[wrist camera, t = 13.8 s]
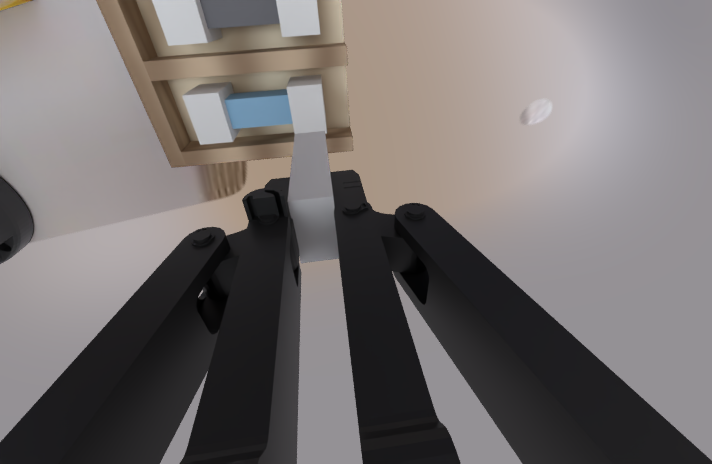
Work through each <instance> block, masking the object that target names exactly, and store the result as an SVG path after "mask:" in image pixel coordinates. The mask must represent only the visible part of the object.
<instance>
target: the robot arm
mask: <svg viewBox="0 0 712 464" xmlns="http://www.w3.org/2000/svg"><path fill="white" fill-rule="evenodd" d="M242 201H243V204H244V207H245V211H246V213H247V217H248V220H249V223H248V227H247V229H245V230H242V231H240V232H237V233H234V234H230V235H227V236H226V235H225V232H224V230H222V229H221V228H217V227H207V228H202V229H198V230H196V231H195V232H193V233H191V234H189V235H188V236H187V237H185V238H184V239H183V240H182V241H181V243H180V244H179V245H178V246H177V247H176V248H175V249H174V250H173V251H172V253H171V254H170V255H169V256H168V257H167V258H166V259H165V260H164V261H163V262H162V264H161V265H160V266H159V267H158V268H157V269H156V270H155V271H154V273H153V274H152V275H151V276H150V277H149V278H148V279H147V280H146V281H145V282H144V284H143V285H142V286H141V287H140V288H139V289H138V290H137V291H136V292H135V293H134V295H133V296H132V297H131V298H130V299H129V300H128V301H127V302H126V304H125V305H124V306H123V307H122V308H121V309H120V310H119V311H118V312H117V314H116V315H115V316H114V317H113V318H112V319H111V320H110V321H109V322H108V323H107V325H106V326H105V327H104V328H103V329H102V330H101V331H100V332H99V333H98V334H97V336H96V337H95V338H94V339H93V340H92V341H91V342H90V343H89V344H88V346H87V347H86V348H85V349H84V350H83V351H82V352H81V353H80V354H79V356H78V357H77V358H76V359H75V360H74V361H73V362H72V364H70V366H69V367H68V368H67V369H66V370H65V371H64V372H63V373H62V374H61V376H60V377H59V378H58V379H57V380H56V381H55V382H54V383H53V384H52V386H51V387H50V388H49V389H48V390H47V391H46V392H45V393H44V394H43V396H42V397H41V398H40V399H39V400H38V401H37V402H36V403H35V404H34V405H33V407H32V408H31V409H30V410H29V411H28V412H27V413H26V414H25V416H24V417H23V418H22V419H21V420H20V421H19V422H18V423H17V424H16V426H15V427H14V428H13V429H12V430H11V431H10V432H9V433H8V434H7V435H6V437H5V438H4V439H3V440H2V441H1V442H0V464H160V462H161V460H162V458H163V456H164V454H165V452H166V450H167V448H168V447H169V444H170V442H171V441H172V439H173V437H174V435H175V433H176V431H177V429H178V427H179V425H180V423H181V421H182V419H183V418H184V415H185V414H186V412H187V410H188V408H189V406H190V404H191V402H192V400H193V398H194V396H195V394H196V392H197V390H198V389H199V387H200V385H201V383H202V381H203V379H204V377H205V375H206V373H207V371H208V373H207V377H206V381H205V384H204V388H203V392H202V395H201V399H200V403H199V406H198V410H197V414H196V417H195V421H194V425H193V428H192V432H191V436H190V439H189V443H188V447H187V450H186V453H185V455H184V458H183V459H182V461H181V462H180V464H297V422H298V383H299V342H300V300H301V270H300V265H299V256H300V261H301V263H306V262H314V261H323V260H331V259H339V261H340V270H341V278H342V287H343V296H344V304H345V313H346V321H347V330H348V338H349V347H350V356H351V365H352V373H353V382H354V391H355V398H356V408H357V416H358V425H359V434H360V443H361V451H362V460H363V464H460V460H459V458H458V455H457V452H456V449H455V446H454V444H453V441H452V438H451V436H450V434H449V432H448V430H447V428H446V427H445V426H444V425H443V424H442V423H441V422H440V421H439V420H438V418H437V416H436V413H435V410H434V407H433V404H432V400H431V397H430V394H429V391H428V388H427V384H426V381H425V378H424V375H423V372H422V368H421V365H420V362H419V359H418V355H417V352H416V349H415V345H414V342H413V339H412V336H411V332H410V329H409V326H408V323H407V319H406V316H405V313H404V310H403V306H402V303H401V300H400V297H399V294H398V290H397V287H396V284H395V280H394V278H393V274H392V271H393V273H394V275H395V277H396V279H397V280H398V282H399V283H400V285H401V286H402V287H403V289H404V291H405V292H406V294H407V295H408V296H409V298H410V299H411V301H412V302H413V304H414V305H415V307H416V308H417V310H418V311H419V313H420V314H421V315H422V317H423V318H424V320H425V321H426V323H427V324H428V326H429V327H430V328H431V330H432V332H433V333H434V334H435V336H436V337H437V339H438V340H439V342H440V343H441V345H442V346H443V348H444V349H445V350H446V352H447V354H448V355H449V356H450V358H451V359H452V361H453V362H454V364H455V365H456V367H457V368H458V369H459V371H460V373H461V374H462V375H463V377H464V378H465V380H466V381H467V383H468V384H469V386H470V387H471V389H472V390H473V392H474V393H475V394H476V396H477V397H478V399H479V400H480V402H481V403H482V405H483V406H484V408H485V409H486V410H487V412H488V414H489V415H490V416H491V418H492V419H493V421H494V422H495V424H496V425H497V427H498V428H499V430H500V431H501V433H502V434H503V435H504V437H505V438H506V440H507V441H508V443H509V444H510V446H511V447H512V449H513V450H514V452H515V453H516V454H517V456H518V457H519V459H520V460H521V462H522V463H523V464H712V461H711V460H710V459H709V458H708V457H707V456H706V455H705V454H704V453H702V452H701V451H700V450H699V449H698V448H697V447H696V446H695V445H694V444H692V443H691V442H690V441H689V440H688V439H687V438H686V437H685V436H683V435H682V434H681V433H680V432H679V431H678V430H677V429H676V428H675V427H674V426H672V425H671V424H670V423H669V422H668V421H667V420H666V419H665V418H664V417H663V416H661V415H660V414H659V413H658V412H657V411H656V410H655V409H654V408H653V407H651V406H650V405H649V404H648V403H647V402H646V401H645V400H644V399H643V398H641V397H640V396H639V395H638V394H637V393H636V392H635V391H634V390H633V389H631V388H630V387H629V386H628V385H627V384H626V383H625V382H624V381H623V380H621V379H620V378H619V377H618V376H617V375H616V374H615V373H614V372H613V371H611V370H610V369H609V368H608V367H607V366H606V365H605V364H604V363H603V362H602V361H600V360H599V359H598V358H597V357H596V356H595V355H594V354H593V353H592V352H590V351H589V350H588V349H587V348H586V347H585V346H584V345H582V343H581V342H579V341H578V340H577V339H576V338H575V337H574V336H573V335H572V334H571V333H569V332H568V331H567V330H566V329H565V328H564V327H563V326H562V325H560V324H559V323H558V322H557V321H556V320H555V319H554V318H553V317H552V316H550V315H549V314H548V313H547V312H546V311H545V310H544V309H543V308H542V307H541V306H539V305H538V304H537V303H536V302H535V301H534V300H533V299H532V298H530V296H528V295H527V294H526V293H525V292H524V291H523V290H522V289H521V288H519V287H518V286H517V285H516V284H515V283H514V282H513V281H512V280H511V279H509V278H508V277H507V276H506V275H505V274H504V273H503V272H502V271H501V270H500V269H498V268H497V267H496V266H495V265H494V264H493V263H492V262H490V260H488V259H487V258H486V257H485V256H484V255H483V254H482V253H481V252H480V251H478V250H477V249H476V248H475V247H474V246H473V245H472V244H471V243H470V242H469V241H467V240H466V239H465V238H464V237H463V236H462V235H461V234H460V233H459V232H457V231H456V230H455V229H454V228H453V227H452V226H451V225H450V224H449V223H447V222H446V221H445V220H444V219H443V218H442V217H441V216H440V215H439V214H438V213H436V212H435V211H434V210H433V209H432V208H430V207H428V206H427V205H423V204H420V203H409V204H404V205H402V206H400V207H399V208H397V209H396V211H395V215H392V214H383V213H379V212H376V211H374V210H373V209H372V207H371V205H370V204H369V203H368V202H367V200H366V197H365V194H364V190H363V187H362V183H361V181H360V177H359V174H357V173H356V172H355V171H353V170H347V171H337V172H330V167H329V159H328V151H327V144H326V136H325V131H319V132H308V133H298V134H295V137H294V146H293V155H292V164H291V173H290V177H289V178H279V179H271V180H270V181H269V182H268V183H267V184H266V185H265V188H263V189H258V190H255V191H253V192H250V193H249V194H247V195H246V196H245V197H244V198H243V200H242ZM32 234H33V222H32V218H31V215H30V213H29V211H28V209H27V207H26V205H25V204H24V202H23V201H22V200H21V198H20V197H19V196H18V195H17V193H16V192H15V191H14V190H13V189H12V188H11V187H10V186H9V185H8V184H7V183H6V182H5V181H3V180H2V179H1V178H0V264H1V263H3V262H5V261H7V260H8V259H10V258H11V257H13V256H14V255H15V254H16V253H17V252H19V251H20V250H21V249H22V248H24V247H25V246H26V245H27V244H28V243H29V241H30V239H31V237H32ZM202 289H203V293H202V294H201V296H200V297H199V298H198V296H199V294H200V292H201V291H202ZM208 369H209V370H208Z"/></svg>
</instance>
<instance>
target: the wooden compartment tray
mask: <svg viewBox="0 0 712 464" xmlns="http://www.w3.org/2000/svg"><path fill="white" fill-rule="evenodd" d="M96 1H97V3H98V6H99V8H100V10H101V12H102V15H103V17H104V19H105V21H106V23H107V26H108V28H109V30H110V32H111V34H112V37H113V39H114V41H115V43H116V46H117V48H118V50H119V52H120V54H121V57H122V59H123V61H124V63H125V65H126V68H127V70H128V72H129V74H130V77H131V79H132V81H133V83H134V85H135V88H136V90H137V92H138V94H139V96H140V99H141V101H142V103H143V105H144V108H145V110H146V112H147V114H148V116H149V119H150V121H151V123H152V125H153V127H154V130H155V132H156V134H157V136H158V139H159V141H160V143H161V145H162V147H163V150H164V152H165V154H166V156H167V158H168V161H169V163H170V165H171V167H172V168H173V167H184V166H194V165H205V164H216V163H227V162H238V161H248V160H259V159H270V158H280V157H292V155H293V146H294V137H295V133H294V127H293V124H284V125H273V126H261V127H250V128H241V130H240V132H239V133H238V135H237V136H236V138H235V139H234V141H233V142H226V143H215V144H204V145H200V143H199V140H198V137H197V135H196V132H195V129H194V127H193V124H192V121H191V119H190V116H189V113H188V111H187V108H186V105H185V102H184V100H183V97H182V95H184V94H185V93H187V92H188V91H190V90H191V89H193V88H194V87H196V86H198V85H199V84H209V83H221V82H231V84H232V88H233V92H234V93H245V92H257V91H269V90H281V89H287V88H286V86H287V84H288V82H289V79H290V77H295V76H308V75H320V74H321V79H322V88H323V97H324V106H325V115H326V127H327V134H325V136H326V144H327V151H328V153H335V152H345V151H353V136H352V133H351V129H350V118H349V104H348V89H347V74H346V66H347V65H348V59H347V46H346V44H345V43H344V31H343V16H342V2H341V0H317V6H318V16H319V25H320V34H319V35H305V36H292V37H282V33H281V27H280V24H268V25H254V26H241V27H227V28H220V29H221V32H222V36H223V38H221V39H218V40H215V41H212V42H209V43H199V44H186V45H173V46H168V43H167V40H166V38H165V35H164V32H163V29H162V27H161V24H160V21H159V18H158V16H157V13H156V10H155V7H154V5H153V2H152V0H96Z"/></svg>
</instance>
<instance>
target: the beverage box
mask: <svg viewBox="0 0 712 464" xmlns="http://www.w3.org/2000/svg"><path fill="white" fill-rule="evenodd" d="M30 1H33V0H0V11H1V10H5V9H8V8H11V7H14V6H17V5H20V4H23V3H26V2H30Z"/></svg>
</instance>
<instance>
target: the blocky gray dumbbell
mask: <svg viewBox="0 0 712 464" xmlns="http://www.w3.org/2000/svg"><path fill="white" fill-rule="evenodd" d="M152 2H153V5H154V7H155V10H156V13H157V16H158V18H159V21H160V24H161V27H162V29H163V32H164V35H165V38H166V40H167V43H168V46H173V45H186V44H199V43H209V42H212V41H215V40H218V39H221V38H223V36H222V32H221V29H220V28H227V27H241V26H254V25H268V24H280V27H281V33H282V37H292V36H305V35H319V34H320V25H319V16H318V6H317V0H152Z"/></svg>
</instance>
